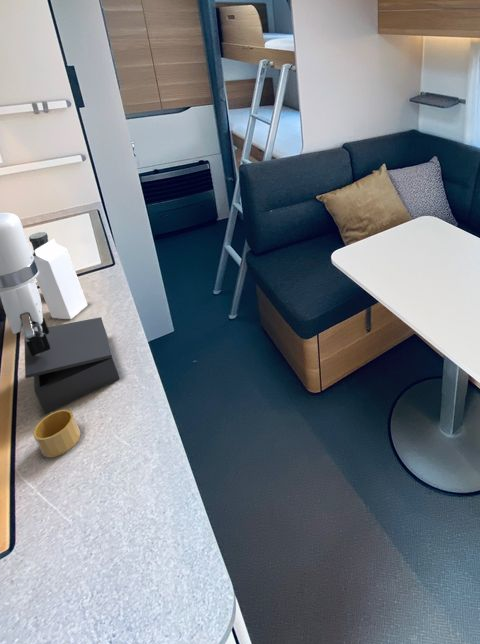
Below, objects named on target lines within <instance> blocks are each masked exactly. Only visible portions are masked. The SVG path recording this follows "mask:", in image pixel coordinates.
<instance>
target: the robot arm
mask: <svg viewBox="0 0 480 644" xmlns="http://www.w3.org/2000/svg"><path fill="white" fill-rule="evenodd" d="M38 274H39V270H38V268H37V265H36V262H35V259H34V257H33V251H32V248H31V246H30V243H29V239H28V238H27V234H26V232H25V229H24V227H23V224H22V221H21V219H20V217H19V216H18V215H17V214H15V213H13V212H5V211H4V212H3V211H2V212H0V301H1V304H2V307H3V310H4V314H5V316H6V319H7V322H8V324H9V327H10V330H11V333H12V334H14V335H17V334H19V333H20V332H21V331H22V333H23V337H24V336H25V339H26V343H27V346H28V348H29V351H30V353H31V355H32V356H34V355H37V354H39V353H42V352H45V351H47V350H49V349H50V344H49V342H48V339H47V337H46V334H48V333H49V329H48V327H49V326H48V324H47V321H46V319H45V317H43V304H42V299H41V294H40V291H39V288H38V286H37V283H36V281H35V280H36V277H37V276H38ZM41 326H42V328H41ZM35 327H37V329H38V331H34V328H35Z"/></svg>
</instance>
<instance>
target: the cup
mask: <svg viewBox="0 0 480 644" xmlns="http://www.w3.org/2000/svg"><path fill="white" fill-rule="evenodd" d="M32 434H33V439H34V440H35V443H36V444H37V447H38V448H39V450H40V452H41V454H42V455H43V457H46V458H56V457H59V456H61V455H63V454H65V453H67V452H68V451H70V450H71V449H72V448H73V447H74V446H75V445H76V444H77V442H78V441H79V440H80V437H81V430H80V427H79V425H78V423H77V421H76V418H75V415H74V413H73V411H71V410H69V409H60V410H56V411H53V412H52V413H50V414H47V415H46V416H45V417H43V418H42V419H40V420H39V422H38V423H37V424H36V426H35V427H34V430H33V432H32Z"/></svg>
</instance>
